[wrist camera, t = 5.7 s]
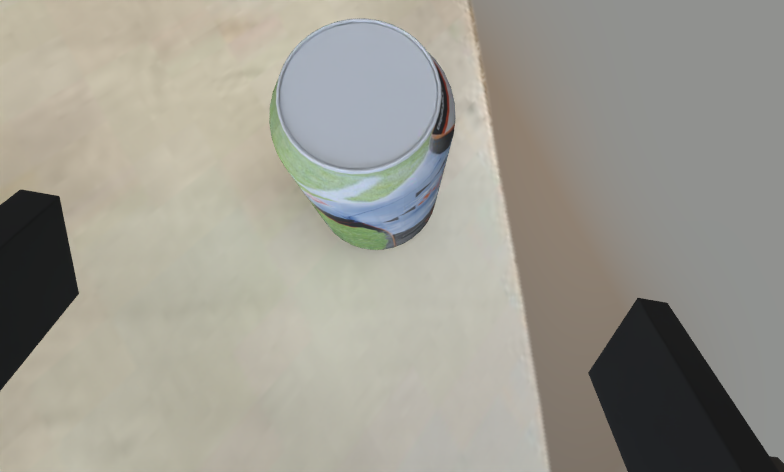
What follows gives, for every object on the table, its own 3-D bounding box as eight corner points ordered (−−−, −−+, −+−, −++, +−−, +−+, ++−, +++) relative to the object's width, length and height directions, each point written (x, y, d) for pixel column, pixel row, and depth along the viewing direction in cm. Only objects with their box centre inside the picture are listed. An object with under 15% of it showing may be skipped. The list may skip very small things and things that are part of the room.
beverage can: (435, 248, 26) (527, 188, 14) (294, 259, 25) (268, 205, 13) (422, 135, 27) (498, -8, 15) (286, 141, 26) (254, -7, 14)
